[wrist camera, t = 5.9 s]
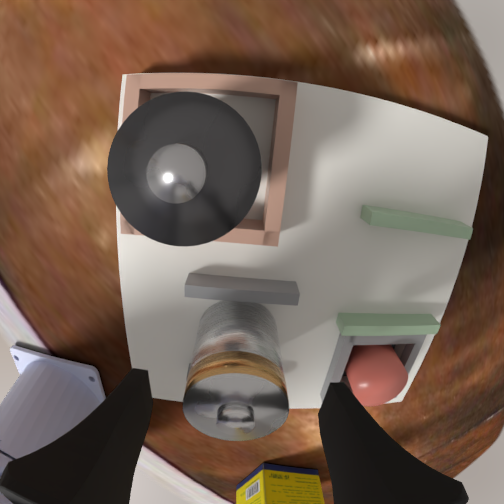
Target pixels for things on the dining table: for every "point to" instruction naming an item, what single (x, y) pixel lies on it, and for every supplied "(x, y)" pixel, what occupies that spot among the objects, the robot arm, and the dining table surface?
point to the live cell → (236, 374)
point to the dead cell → (184, 169)
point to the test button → (375, 374)
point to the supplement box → (280, 486)
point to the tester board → (312, 233)
